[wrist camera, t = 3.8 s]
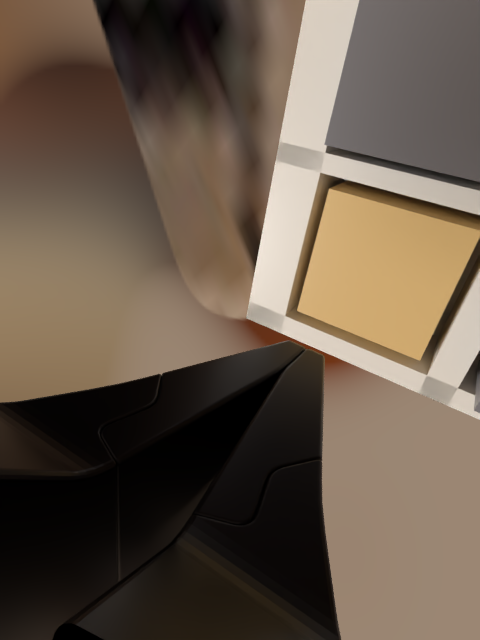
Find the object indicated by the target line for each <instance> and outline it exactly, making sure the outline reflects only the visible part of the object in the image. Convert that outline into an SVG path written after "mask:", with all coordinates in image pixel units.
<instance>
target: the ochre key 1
mask: <svg viewBox="0 0 480 640" xmlns="http://www.w3.org/2000/svg"><path fill="white" fill-rule="evenodd" d="M479 238H480V215H477V214H473V213H470V212H466V211H462V210H458V209H455V208H451V207H447V206H443V205H440V204H436V203H432V202H428V201H425V200H421V199H417V198H413V197H410V196H406V195H402V194H398V193H395V192H391V191H387V190H383V189H380V188H376V187H372V186H368V185H365V184H361V183H357V182H353V181H350V180H348V181H345V182H343V183H341V184H338V185H336V186H334V187H332V188H329V191H328V195H327V198H326V202H325V206H324V210H323V214H322V217H321V221H320V225H319V229H318V233H317V236H316V240H315V244H314V248H313V252H312V255H311V259H310V263H309V267H308V271H307V275H306V278H305V282H304V286H303V290H302V294H301V297H300V301H299V305H298V309H297V311H299V312H301V313H303V314H306V315H308V316H311V317H313V318H316V319H318V320H321V321H323V322H326V323H328V324H330V325H333V326H335V327H338V328H340V329H343V330H345V331H348V332H350V333H353V334H355V335H357V336H360V337H362V338H365V339H367V340H370V341H372V342H375V343H377V344H380V345H382V346H384V347H387V348H389V349H392V350H394V351H397V352H399V353H402V354H404V355H407V356H409V357H411V358H414V359H416V360H419V361H420V360H421V357H422V355H423V353H424V351H425V349H426V347H427V345H428V343H429V341H430V339H431V337H432V335H433V333H434V331H435V329H436V327H437V324H438V322H439V320H440V318H441V316H442V314H443V312H444V310H445V308H446V306H447V304H448V302H449V300H450V298H451V296H452V294H453V291H454V289H455V287H456V285H457V283H458V281H459V279H460V277H461V275H462V273H463V271H464V269H465V267H466V265H467V263H468V261H469V258H470V256H471V254H472V252H473V250H474V248H475V246H476V244H477V242H478V240H479Z"/></svg>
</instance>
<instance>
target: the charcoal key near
mask: <svg viewBox="0 0 480 640" xmlns="http://www.w3.org/2000/svg"><path fill="white" fill-rule="evenodd" d="M324 145H327V146H331V147H335V148H340V149H344V150H348V151H352V152H356V153H360V154H365V155H369V156H373V157H377V158H381V159H386V160H390V161H394V162H398V163H402V164H406V165H411V166H415V167H419V168H423V169H427V170H432V171H436V172H440V173H444V174H448V175H453V176H457V177H461V178H465V179H469V180H473V181H478V182H480V0H359V4H358V8H357V12H356V16H355V20H354V24H353V28H352V33H351V37H350V41H349V45H348V49H347V53H346V57H345V61H344V66H343V70H342V74H341V78H340V82H339V86H338V90H337V94H336V98H335V103H334V107H333V111H332V115H331V119H330V123H329V127H328V131H327V136H326V140H325V144H324Z"/></svg>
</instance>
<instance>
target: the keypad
mask: <svg viewBox="0 0 480 640" xmlns="http://www.w3.org/2000/svg"><path fill="white" fill-rule="evenodd" d="M358 4H359V0H306V3H305V8H304V14H303V19H302V24H301V29H300V35H299V40H298V45H297V51H296V56H295V61H294V67H293V72H292V77H291V83H290V88H289V93H288V99H287V104H286V109H285V115H284V120H283V125H282V131H281V136H280V141H279V147H278V152H277V157H276V162H275V168H274V173H273V178H272V184H271V189H270V194H269V200H268V205H267V210H266V216H265V221H264V226H263V232H262V237H261V242H260V248H259V253H258V258H257V264H256V269H255V274H254V280H253V285H252V290H251V296H250V301H249V306H248V311H247V317H246V318H247V319H250V320H252V321H254V322H257V323H259V324H261V325H263V326H266V327H268V328H270V329H273V330H275V331H277V332H280V333H282V334H284V335H286V336H289V337H291V338H293V339H296V340H298V341H300V342H302V343H305V344H307V345H309V346H312V347H314V348H316V349H319V350H321V351H323V352H326V353H328V354H330V355H333V356H335V357H337V358H339V359H342V360H344V361H346V362H348V363H351V364H353V365H355V366H358V367H360V368H362V369H365V370H367V371H369V372H371V373H374V374H376V375H378V376H381V377H383V378H385V379H387V380H390V381H392V382H394V383H397V384H399V385H401V386H404V387H406V388H408V389H410V390H413V391H415V392H417V393H420V394H422V395H424V396H426V397H429V398H431V399H433V400H436V401H438V402H440V403H443V404H445V405H447V406H449V407H452V408H454V409H456V410H458V411H461V412H463V413H465V414H468V415H470V416H472V417H475V418H477V419H479V420H480V413H478V412H476V411H474V403H475V393H476V382H477V371H478V362H479V360H480V238H479V240H478V242H477V244H476V246H475V248H474V250H473V252H472V254H471V256H470V258H469V261H468V263H467V265H466V267H465V269H464V271H463V273H462V275H461V277H460V279H459V281H458V283H457V285H456V287H455V289H454V291H453V294H452V296H451V298H450V300H449V302H448V304H447V306H446V308H445V310H444V312H443V314H442V316H441V318H440V320H439V322H438V324H437V327H436V329H435V331H434V333H433V335H432V337H431V339H430V341H429V343H428V345H427V347H426V349H425V351H424V353H423V355H422V357H421V360H420V361H419V360H416V359H414V358H411V357H409V356H407V355H404V354H402V353H399V352H397V351H394V350H392V349H389V348H387V347H384V346H382V345H380V344H377V343H375V342H372V341H370V340H367V339H365V338H362V337H360V336H357V335H355V334H353V333H350V332H348V331H345V330H343V329H340V328H338V327H335V326H333V325H330V324H328V323H326V322H323V321H321V320H318V319H316V318H313V317H311V316H308V315H306V314H303V313H301V312H299V311H297V309H298V305H299V301H300V297H301V294H302V290H303V286H304V282H305V278H306V275H307V271H308V267H309V263H310V259H311V255H312V252H313V248H314V244H315V240H316V236H317V233H318V229H319V225H320V221H321V217H322V214H323V210H324V206H325V202H326V198H327V195H328V191H329V188H332V187H334V186H336V185H338V184H341V183H343V182H345V181H348V180H350V181H353V182H357V183H361V184H365V185H368V186H372V187H376V188H380V189H383V190H387V191H391V192H395V193H398V194H402V195H406V196H410V197H413V198H417V199H421V200H425V201H428V202H432V203H436V204H440V205H443V206H447V207H451V208H455V209H458V210H462V211H466V212H470V213H473V214H477V215H480V182H478V181H473V180H469V179H465V178H461V177H457V176H453V175H448V174H444V173H440V172H436V171H432V170H427V169H423V168H419V167H415V166H411V165H406V164H402V163H398V162H394V161H390V160H386V159H381V158H377V157H373V156H369V155H365V154H360V153H356V152H352V151H348V150H344V149H340V148H335V147H331V146H327V145H324V144H325V140H326V136H327V131H328V127H329V123H330V119H331V115H332V111H333V107H334V103H335V98H336V94H337V90H338V86H339V82H340V78H341V74H342V70H343V66H344V61H345V57H346V53H347V49H348V45H349V41H350V37H351V33H352V28H353V24H354V20H355V16H356V12H357V8H358Z"/></svg>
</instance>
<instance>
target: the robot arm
mask: <svg viewBox="0 0 480 640" xmlns="http://www.w3.org/2000/svg"><path fill="white" fill-rule="evenodd" d="M324 362H325V358H324V356H323V355H322V354H320V353H317V352H315V351H313V350H310V349H305V347H303V346H301V345H299V344H297V343H294V342H292V341H285V342H281V343H277V344H273V345H269V346H265V347H261V348H258V349H254V350H250V351H246V352H242V353H238V354H235V355H231V356H227V357H223V358H219V359H215V360H211V361H208V362H204V363H200V364H196V365H192V366H188V367H184V368H181V369H177V370H173V371H169V372H165V373H163V374H162V376H161V374H157V375H153V376H149V377H145V378H142V379H137V380H133V381H129V382H124V383H120V384H115V385H110V386H104V387H99V388H94V389H89V390H83V391H77V392H71V393H65V394H59V395H54V396H48V397H42V398H36V399H30V400H24V401H18V402H5V403H0V640H341V636H340V631H339V627H338V621H337V614H336V607H335V600H334V592H333V585H332V578H331V571H330V564H329V557H328V549H327V541H326V534H325V525H324V515H323V505H322V462H321V461H322V441H323V402H324Z"/></svg>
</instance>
